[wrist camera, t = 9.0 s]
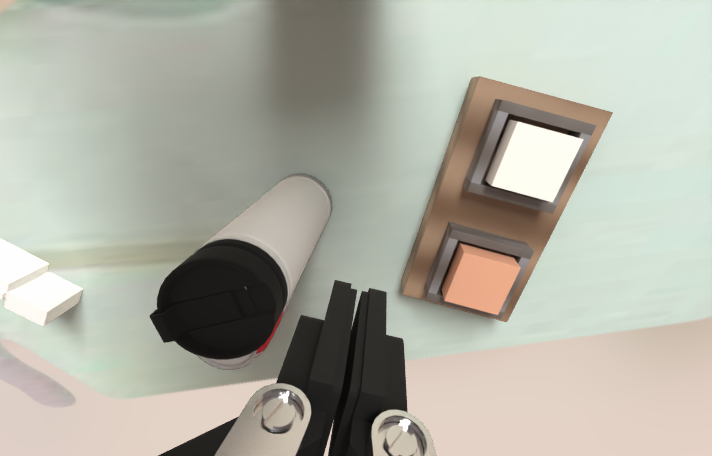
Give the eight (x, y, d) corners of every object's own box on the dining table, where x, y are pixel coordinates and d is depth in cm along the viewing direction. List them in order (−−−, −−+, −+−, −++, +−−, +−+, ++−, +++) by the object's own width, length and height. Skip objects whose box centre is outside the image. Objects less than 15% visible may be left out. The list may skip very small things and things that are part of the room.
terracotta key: (459, 242, 32) (464, 252, 30) (513, 257, 32) (520, 267, 30) (441, 289, 34) (444, 300, 32) (491, 302, 34) (497, 315, 32)
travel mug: (261, 182, 36) (124, 279, 18) (321, 166, 35) (243, 252, 16) (281, 237, 38) (178, 376, 20) (339, 224, 37) (288, 358, 18)
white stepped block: (-32, 233, 42) (-92, 253, 37) (38, 202, 40) (-16, 220, 35) (47, 332, 47) (3, 362, 42) (114, 310, 45) (76, 339, 39)
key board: (471, 77, 31) (486, 75, 26) (592, 110, 31) (628, 114, 26) (401, 279, 39) (403, 305, 34) (498, 305, 39) (513, 334, 34)
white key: (509, 119, 28) (517, 121, 26) (570, 136, 28) (583, 139, 26) (485, 179, 30) (491, 185, 28) (542, 195, 30) (552, 202, 28)
